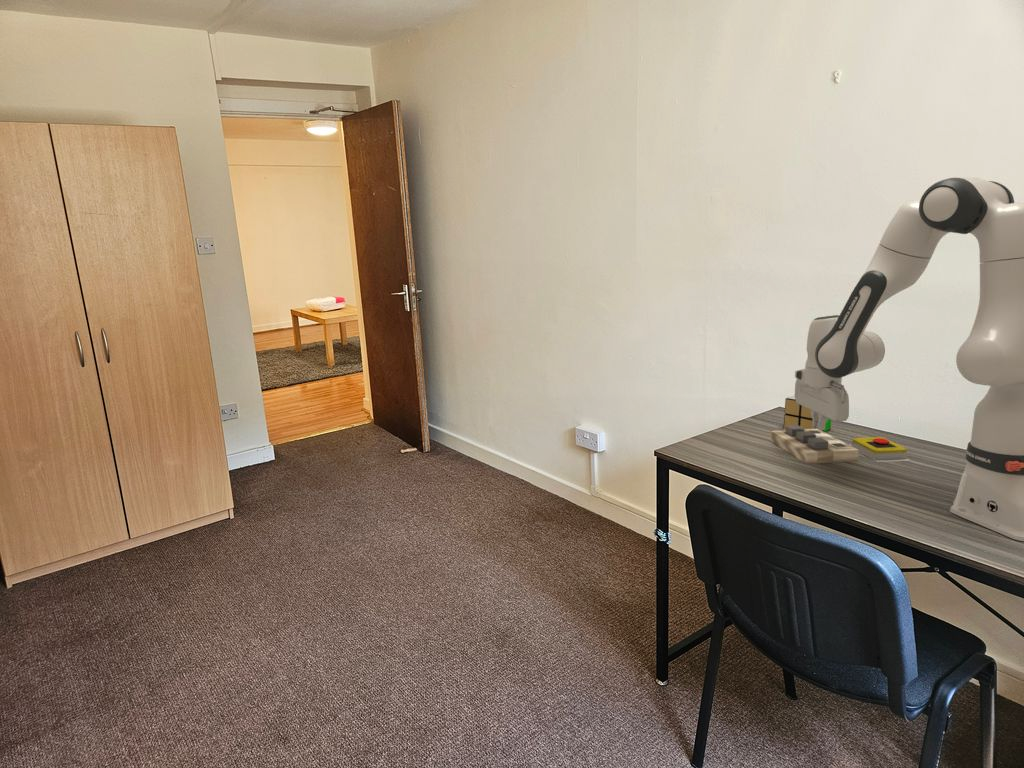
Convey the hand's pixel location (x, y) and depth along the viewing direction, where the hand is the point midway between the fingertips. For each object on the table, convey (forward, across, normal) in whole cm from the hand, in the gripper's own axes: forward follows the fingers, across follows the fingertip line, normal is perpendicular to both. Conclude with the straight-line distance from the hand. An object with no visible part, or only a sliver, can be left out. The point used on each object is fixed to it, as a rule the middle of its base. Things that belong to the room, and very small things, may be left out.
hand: (818, 428), depth 176 cm
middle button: (+6, +6, 0) cm, 8 cm away
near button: (+6, 0, 0) cm, 6 cm away
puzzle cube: (+8, +25, -11) cm, 29 cm away
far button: (+6, +12, 0) cm, 13 cm away
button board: (+8, +6, -2) cm, 10 cm away
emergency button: (+9, +1, -18) cm, 20 cm away
